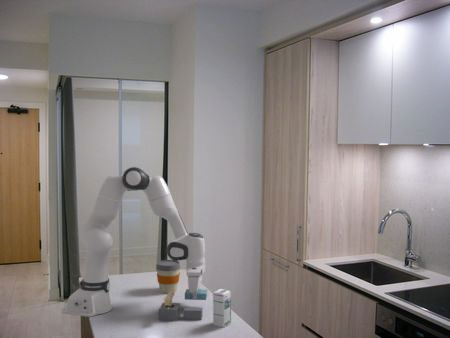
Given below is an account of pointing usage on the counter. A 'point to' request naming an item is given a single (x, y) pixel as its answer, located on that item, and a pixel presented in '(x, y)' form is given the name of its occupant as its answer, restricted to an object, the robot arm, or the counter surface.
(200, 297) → the cover
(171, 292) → the T-key
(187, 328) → the counter surface
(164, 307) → the block
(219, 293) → the syrup box
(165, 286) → the reusable coffee cup
